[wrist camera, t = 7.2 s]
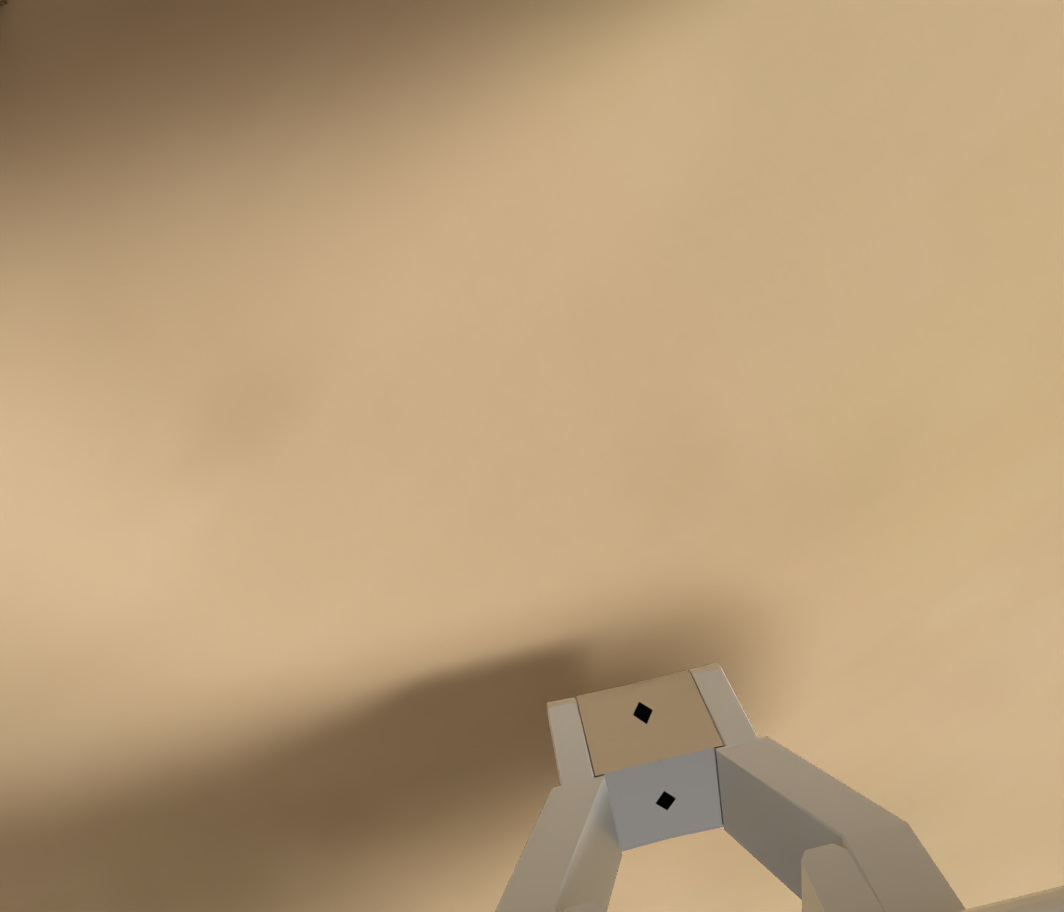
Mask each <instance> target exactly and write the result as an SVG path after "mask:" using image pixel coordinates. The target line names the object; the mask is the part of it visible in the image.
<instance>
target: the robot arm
mask: <svg viewBox="0 0 1064 912" xmlns="http://www.w3.org/2000/svg"><path fill="white" fill-rule="evenodd" d="M576 698H577V701H576ZM577 703H578V705H577ZM578 707H579V709H578ZM579 712H580V713H579ZM547 714H548V720H549V725H550V731H551V737H552V742H553V748H554V754H555V759H556V765H557V771H558V776H559V782H560V786H558V787H554V788H551V791H550V793H549V795H548V797H547V799H546V802H545V804H544V806H543V808H542V810H541V812H540V815H539V817H538V819H537V821H536V823H535V826H534V828H533V830H532V832H531V834H530V837H529V839H528V841H527V843H526V845H525V847H524V850H523V852H522V854H521V856H520V858H519V861H518V863H517V865H516V867H515V869H514V872H513V874H512V876H511V878H510V880H509V882H508V885H507V887H506V889H505V891H504V893H503V896H502V898H501V900H500V902H499V904H498V907H497V909H496V911H495V912H607V908H608V905H609V901H610V897H611V894H612V890H613V886H614V883H615V879H616V875H617V872H618V868H619V864H620V861H621V857H622V853H621V852H622V851H625V850H629V849H633V848H636V847H640V846H643V845H647V844H651V843H654V842H658V841H662V840H665V839H669V838H673V837H678V836H683V835H687V834H692V833H697V832H702V831H706V830H711V829H716V828H720V827H724V830H725V831H726V832H727V833H728V834H729V835H731V836H732V837H733V838H734V839H735V840H736V841H737V842H738V843H739V844H741V845H742V846H743V847H744V848H745V849H746V850H747V851H748V852H749V853H750V854H752V855H753V856H754V857H755V858H756V859H757V860H758V861H759V862H760V863H762V864H763V865H764V866H765V867H766V868H767V869H768V870H769V871H770V872H771V873H773V874H774V875H775V876H776V877H777V878H778V879H779V880H780V881H781V882H783V883H784V884H785V885H786V886H787V887H788V888H789V889H790V890H791V891H792V892H794V893H795V894H796V895H797V896H798V897H799V898H800V899H801V900H802V912H1064V886H1060V887H1056V888H1052V889H1048V890H1044V891H1040V892H1036V893H1032V894H1028V895H1024V896H1020V897H1016V898H1011V899H1007V900H1003V901H999V902H995V903H991V904H987V905H983V906H979V907H975V908H971V909H967V910H966V909H965V907H964V906H963V904H962V903H961V902H960V900H959V899H958V897H957V896H956V894H955V893H954V891H953V890H952V888H951V887H950V885H949V884H948V882H947V881H946V879H945V878H944V876H943V875H942V873H941V872H940V870H939V869H938V867H937V866H936V864H935V863H934V861H933V860H932V858H931V857H930V856H929V854H928V853H927V851H926V850H925V848H924V847H923V845H922V844H921V842H920V841H919V839H918V838H917V836H916V835H915V833H914V832H913V830H912V829H911V827H910V826H909V824H908V823H907V822H905V821H903V820H902V819H900V818H899V817H897V816H895V815H894V814H892V813H891V812H889V811H887V810H886V809H884V808H882V807H881V806H879V805H878V804H876V803H874V802H873V801H871V800H870V799H868V798H866V797H865V796H863V795H861V794H860V793H858V792H857V791H855V790H853V789H852V788H850V787H849V786H847V785H845V784H844V783H842V782H840V781H839V780H837V779H836V778H834V777H832V776H831V775H829V774H828V773H826V772H824V771H823V770H821V769H819V768H818V767H816V766H815V765H813V764H811V763H810V762H808V761H807V760H805V759H803V758H802V757H800V756H798V755H797V754H795V753H794V752H792V751H790V750H789V749H787V748H786V747H784V746H782V745H781V744H779V743H777V742H776V741H774V740H773V739H771V738H769V737H768V736H767V737H762V738H758V736H757V734H756V732H755V730H754V728H753V726H752V724H751V723H750V721H749V719H748V717H747V715H746V713H745V711H744V709H743V707H742V705H741V704H740V702H739V700H738V698H737V696H736V694H735V692H734V690H733V688H732V686H731V685H730V683H729V681H728V679H727V677H726V675H725V673H724V671H723V669H722V667H721V666H720V665H719V664H717V663H713V664H709V665H705V666H701V667H697V668H693V669H689V670H688V671H687V670H684V671H680V672H676V673H672V674H668V675H664V676H660V677H656V678H652V679H648V680H644V681H640V682H636V683H632V684H630V685H625V686H621V687H616V688H611V689H606V690H602V691H597V692H592V693H587V694H583V695H578V696H576V697H571V698H566V699H562V700H557V701H552V702H547ZM580 716H581V717H580ZM582 725H583V726H582ZM583 729H584V730H583Z"/></svg>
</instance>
